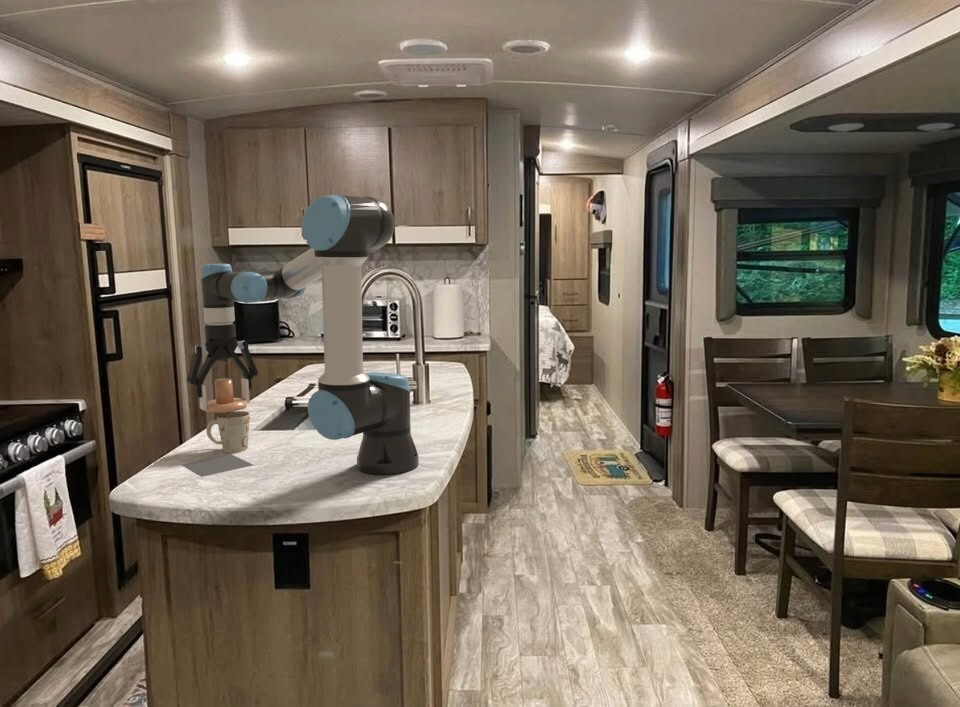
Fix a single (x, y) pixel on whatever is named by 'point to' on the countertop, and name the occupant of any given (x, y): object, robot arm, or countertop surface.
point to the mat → (216, 465)
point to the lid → (225, 398)
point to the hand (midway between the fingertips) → (225, 405)
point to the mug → (231, 430)
